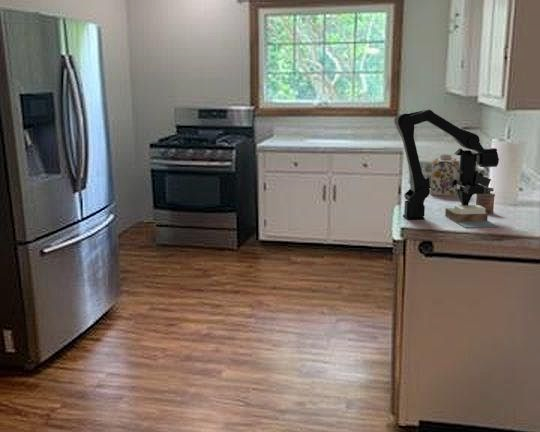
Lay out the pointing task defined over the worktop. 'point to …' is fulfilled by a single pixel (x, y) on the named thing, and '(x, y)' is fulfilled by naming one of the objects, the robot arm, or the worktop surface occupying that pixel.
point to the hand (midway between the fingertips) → (464, 208)
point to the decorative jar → (444, 175)
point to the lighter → (486, 200)
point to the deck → (464, 216)
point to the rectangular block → (470, 209)
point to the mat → (476, 224)
